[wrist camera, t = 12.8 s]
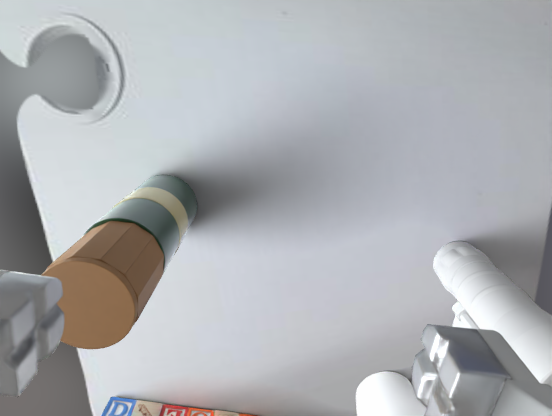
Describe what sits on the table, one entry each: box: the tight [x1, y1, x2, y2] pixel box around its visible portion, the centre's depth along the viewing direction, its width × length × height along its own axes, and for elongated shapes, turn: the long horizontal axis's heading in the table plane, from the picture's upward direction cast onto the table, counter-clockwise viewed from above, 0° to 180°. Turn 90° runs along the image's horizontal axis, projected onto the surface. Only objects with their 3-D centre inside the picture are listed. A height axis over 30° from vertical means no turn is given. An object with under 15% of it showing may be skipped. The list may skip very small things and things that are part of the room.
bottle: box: [83, 175, 197, 273], centre depth 32 cm, size 6×6×17 cm
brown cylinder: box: [41, 221, 164, 349], centre depth 25 cm, size 6×6×6 cm
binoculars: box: [434, 241, 552, 387], centre depth 35 cm, size 17×5×18 cm, turn 2°
